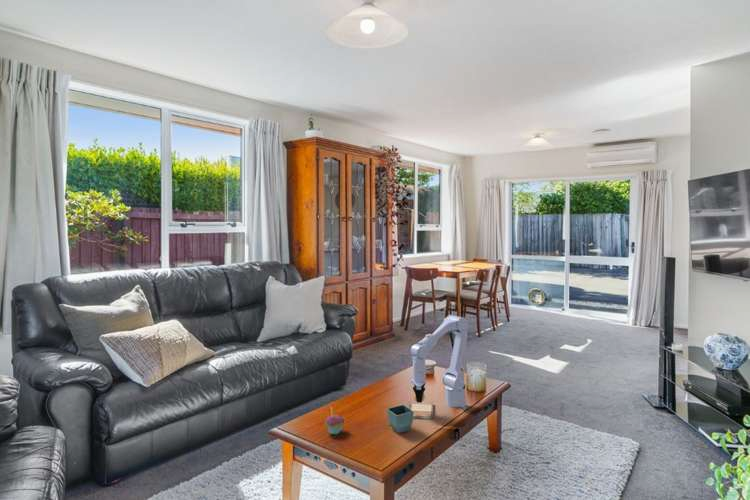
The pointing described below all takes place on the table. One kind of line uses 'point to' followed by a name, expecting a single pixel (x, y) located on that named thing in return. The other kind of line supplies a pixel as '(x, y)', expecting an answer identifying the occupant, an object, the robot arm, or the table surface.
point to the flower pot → (400, 418)
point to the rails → (423, 415)
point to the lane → (420, 407)
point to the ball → (422, 398)
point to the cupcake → (334, 423)
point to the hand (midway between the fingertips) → (419, 399)
